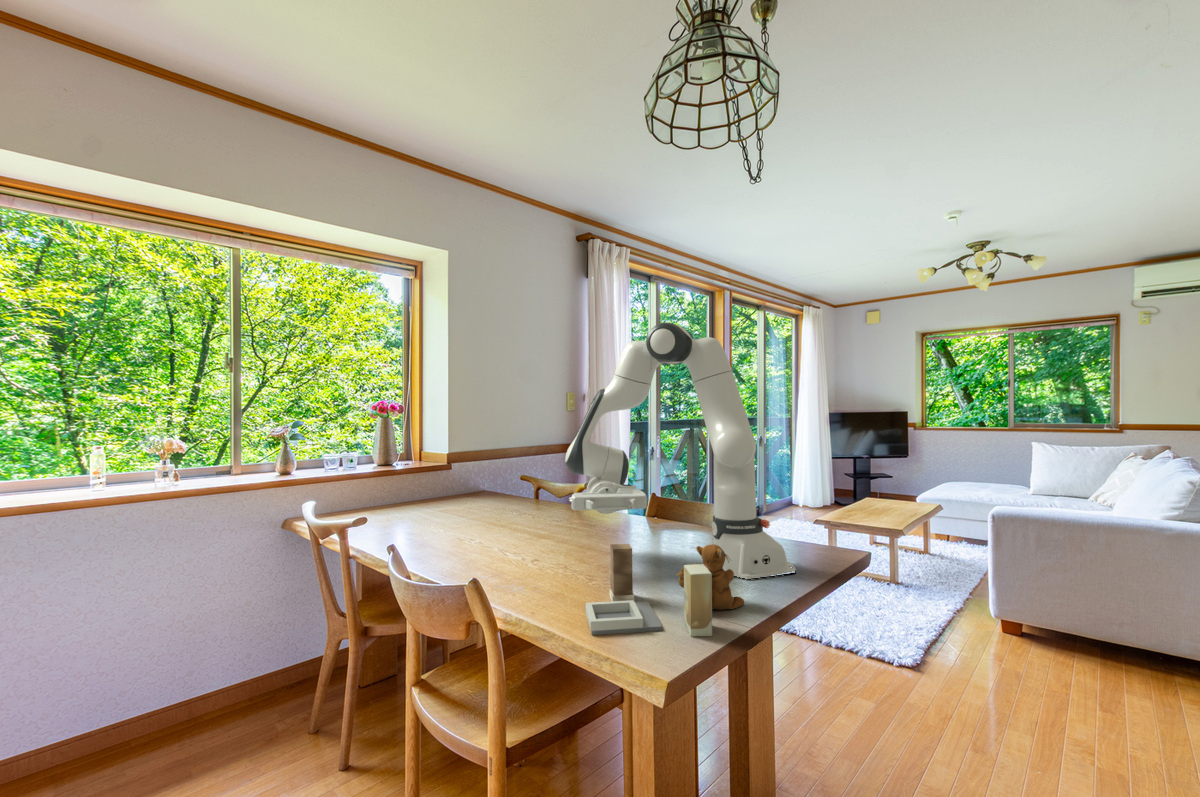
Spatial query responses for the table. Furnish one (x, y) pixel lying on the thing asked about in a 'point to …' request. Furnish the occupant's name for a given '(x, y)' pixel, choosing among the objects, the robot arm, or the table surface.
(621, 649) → the table surface
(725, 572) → the stuffed squirrel
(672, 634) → the table surface
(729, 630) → the table surface
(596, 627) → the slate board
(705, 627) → the skincare box
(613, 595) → the walnut box
